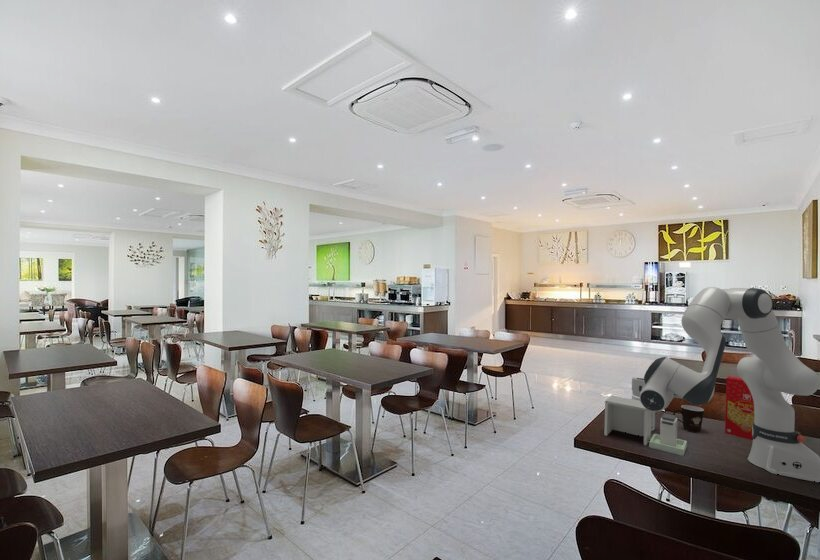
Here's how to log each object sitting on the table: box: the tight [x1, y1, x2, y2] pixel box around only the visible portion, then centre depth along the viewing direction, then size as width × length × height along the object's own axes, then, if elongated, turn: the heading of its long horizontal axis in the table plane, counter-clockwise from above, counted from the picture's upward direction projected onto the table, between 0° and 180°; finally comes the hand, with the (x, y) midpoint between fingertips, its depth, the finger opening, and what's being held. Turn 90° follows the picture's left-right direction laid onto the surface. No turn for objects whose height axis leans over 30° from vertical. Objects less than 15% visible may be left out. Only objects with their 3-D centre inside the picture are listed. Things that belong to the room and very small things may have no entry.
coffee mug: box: [672, 404, 705, 434], centre depth 185 cm, size 12×9×10 cm
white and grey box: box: [659, 413, 678, 447], centre depth 163 cm, size 5×8×12 cm, turn 140°
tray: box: [648, 433, 688, 457], centre depth 163 cm, size 12×12×2 cm
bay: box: [603, 395, 652, 446], centre depth 174 cm, size 16×11×15 cm
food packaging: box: [724, 375, 754, 441], centre depth 177 cm, size 15×5×25 cm, turn 41°
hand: (665, 384), depth 154 cm, fingers open, 8 cm apart
